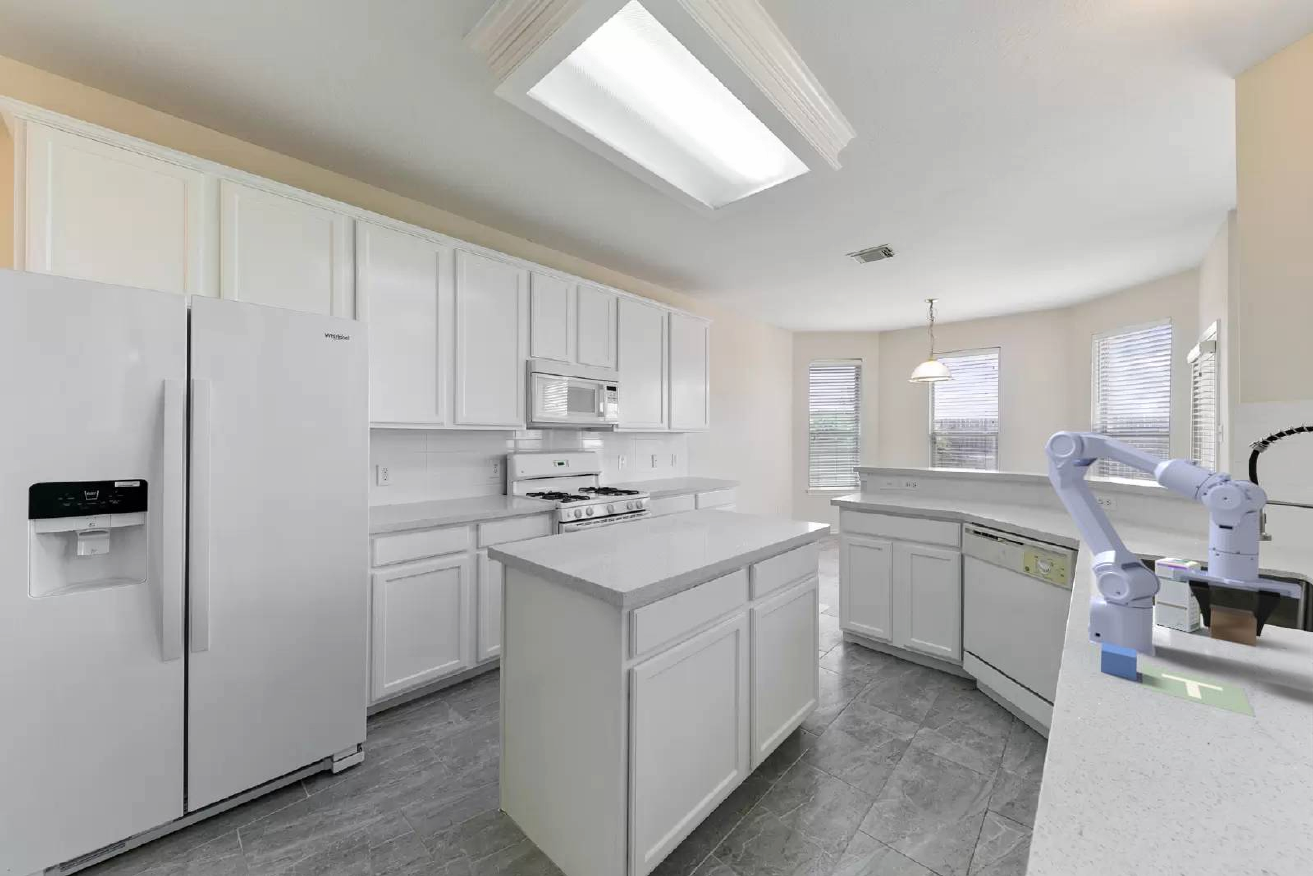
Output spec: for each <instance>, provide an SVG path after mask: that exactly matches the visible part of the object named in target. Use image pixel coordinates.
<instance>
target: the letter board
mask: <svg viewBox="0 0 1313 876" xmlns="http://www.w3.org/2000/svg"><path fill="white" fill-rule="evenodd" d="M1141 679H1142V680H1141V681H1142V683H1141V684H1142V689H1145V690H1148V691H1152V692H1156V693H1161V694H1163V695H1168V696H1172V697H1176V698H1180V699H1184V700H1188V701H1192V702H1196V703H1199V704H1203V705H1207V706H1212V707H1215V708H1219V709H1223V710H1227V711H1231V712H1235V713H1239V714H1242V715H1247V716H1250V717H1255V718H1256V715H1255V712H1254V711H1253V709H1252V706H1251V703H1250V701H1249V699H1248V697H1247V694H1246V693H1245V690H1244V688H1243V687H1242V686H1241V685H1235V684H1231V683H1227V682H1224V681H1223V682H1222V681H1219V680H1215V679H1209V678H1205V677H1202V676H1201V677H1200V676H1196V675H1193V674H1189V673H1188V674H1187V673H1183V672H1180V671H1175V670H1171V669H1168V668H1162V667H1158V666H1153V665H1149V664H1144V663H1141Z"/></svg>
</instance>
